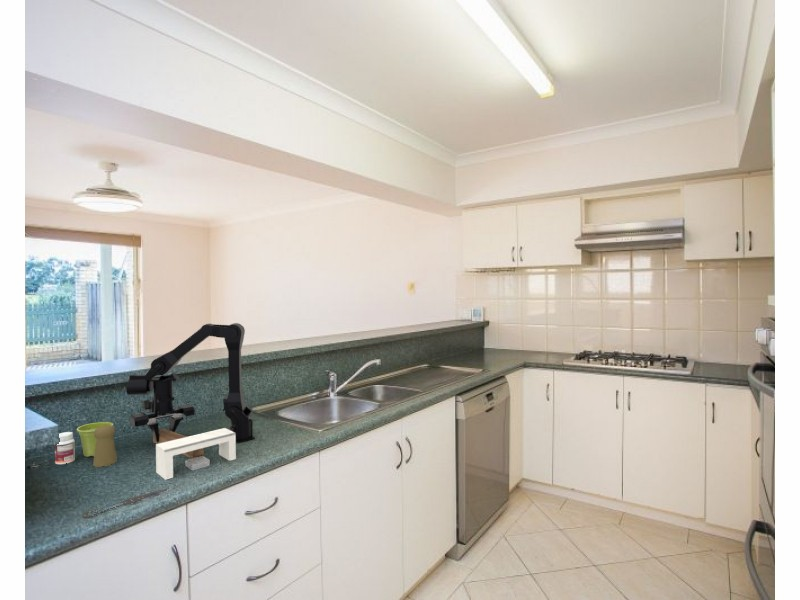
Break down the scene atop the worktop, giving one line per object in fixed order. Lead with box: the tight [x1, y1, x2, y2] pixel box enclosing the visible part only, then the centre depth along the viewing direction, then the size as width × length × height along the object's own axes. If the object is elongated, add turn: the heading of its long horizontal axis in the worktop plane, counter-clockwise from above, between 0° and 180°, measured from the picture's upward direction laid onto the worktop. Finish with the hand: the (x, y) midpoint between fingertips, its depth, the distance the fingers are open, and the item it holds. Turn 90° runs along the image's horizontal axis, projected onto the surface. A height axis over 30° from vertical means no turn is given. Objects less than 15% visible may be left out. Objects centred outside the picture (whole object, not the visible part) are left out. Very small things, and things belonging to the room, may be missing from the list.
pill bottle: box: [54, 431, 76, 465], centre depth 133 cm, size 5×5×8 cm
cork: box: [92, 425, 118, 468], centre depth 132 cm, size 6×6×11 cm
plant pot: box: [76, 421, 114, 458], centre depth 139 cm, size 9×9×9 cm
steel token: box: [184, 455, 211, 471], centre depth 130 cm, size 5×5×2 cm
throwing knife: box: [82, 487, 174, 519], centre depth 108 cm, size 4×20×1 cm, turn 138°
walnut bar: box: [152, 427, 205, 459], centre depth 143 cm, size 4×24×4 cm, turn 55°
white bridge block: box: [155, 427, 237, 481], centre depth 130 cm, size 20×7×8 cm, turn 137°
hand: (164, 440), depth 148 cm, fingers closed on walnut bar, 4 cm apart
